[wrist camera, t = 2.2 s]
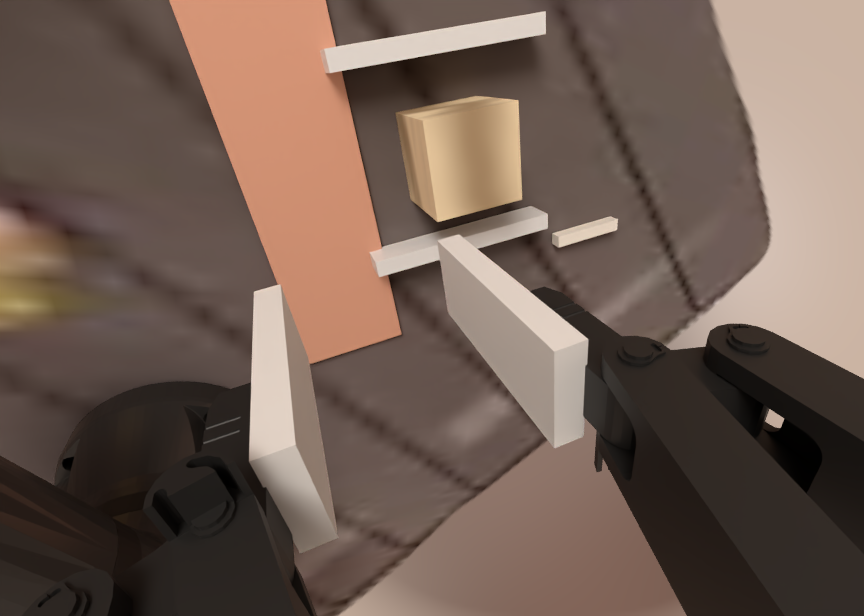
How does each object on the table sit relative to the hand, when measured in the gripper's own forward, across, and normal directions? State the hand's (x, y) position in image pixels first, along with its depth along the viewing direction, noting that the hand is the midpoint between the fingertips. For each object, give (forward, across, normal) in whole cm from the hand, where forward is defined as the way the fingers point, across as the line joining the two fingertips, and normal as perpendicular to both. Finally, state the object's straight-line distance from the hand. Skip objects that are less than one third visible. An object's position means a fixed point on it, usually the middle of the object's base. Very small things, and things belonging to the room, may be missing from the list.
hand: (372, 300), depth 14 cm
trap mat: (+19, 0, 0) cm, 19 cm away
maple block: (+19, +10, 0) cm, 21 cm away
